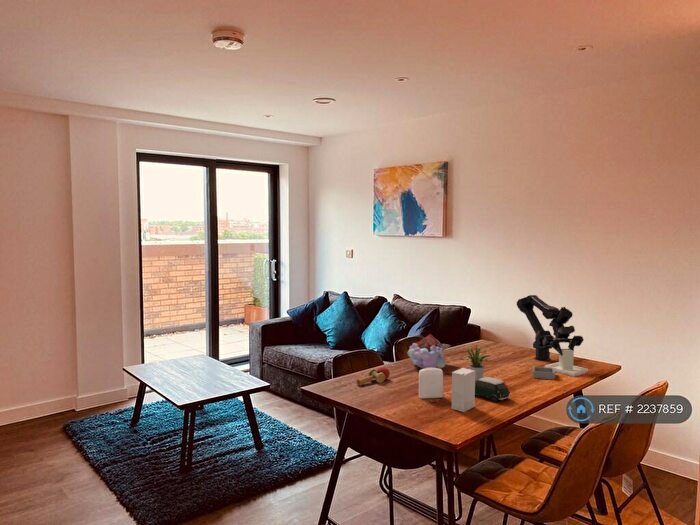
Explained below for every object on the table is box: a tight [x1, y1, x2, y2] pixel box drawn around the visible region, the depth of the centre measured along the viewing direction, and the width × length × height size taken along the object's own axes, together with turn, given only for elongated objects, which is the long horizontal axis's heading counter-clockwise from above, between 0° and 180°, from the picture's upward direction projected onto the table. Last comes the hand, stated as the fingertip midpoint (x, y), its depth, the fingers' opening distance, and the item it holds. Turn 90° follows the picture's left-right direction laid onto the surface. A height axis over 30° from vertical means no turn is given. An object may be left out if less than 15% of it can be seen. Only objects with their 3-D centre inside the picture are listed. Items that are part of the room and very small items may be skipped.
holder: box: [532, 366, 556, 381], centre depth 243 cm, size 10×10×3 cm
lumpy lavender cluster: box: [407, 333, 452, 370], centre depth 259 cm, size 20×22×18 cm
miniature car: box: [475, 376, 511, 404], centre depth 212 cm, size 9×18×8 cm, turn 41°
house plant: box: [465, 344, 492, 381], centre depth 236 cm, size 14×14×16 cm
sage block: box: [558, 348, 575, 369], centre depth 251 cm, size 5×5×9 cm
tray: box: [543, 361, 589, 378], centre depth 252 cm, size 16×12×2 cm
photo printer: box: [418, 368, 444, 399], centre depth 210 cm, size 10×4×12 cm, turn 96°
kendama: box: [356, 366, 391, 387], centre depth 232 cm, size 8×6×18 cm
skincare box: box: [450, 367, 476, 413], centre depth 197 cm, size 8×6×15 cm
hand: (567, 355), depth 250 cm, fingers closed on sage block, 5 cm apart
